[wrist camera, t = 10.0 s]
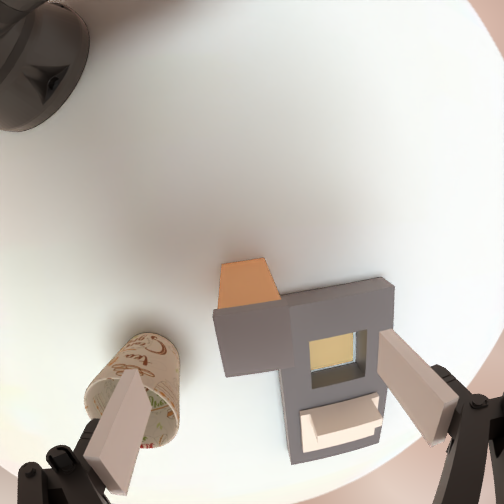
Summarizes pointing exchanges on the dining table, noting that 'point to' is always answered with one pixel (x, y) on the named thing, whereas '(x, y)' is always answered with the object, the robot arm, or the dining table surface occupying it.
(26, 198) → the dining table surface
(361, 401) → the panel
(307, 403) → the socket
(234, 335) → the plug
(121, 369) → the mug
